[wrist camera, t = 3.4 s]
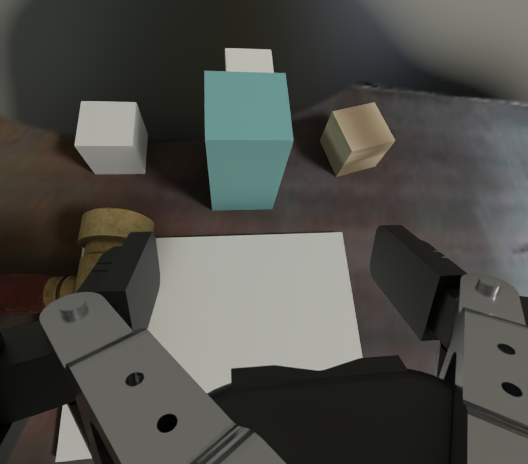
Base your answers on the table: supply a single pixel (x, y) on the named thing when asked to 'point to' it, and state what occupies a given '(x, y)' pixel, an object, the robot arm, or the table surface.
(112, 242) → the gavel
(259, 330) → the white mat
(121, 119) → the grey cube left
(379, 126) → the birch cube right
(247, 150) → the teal block
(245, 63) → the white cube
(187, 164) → the table surface
